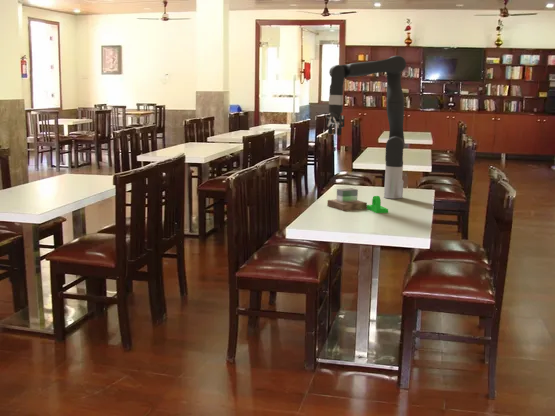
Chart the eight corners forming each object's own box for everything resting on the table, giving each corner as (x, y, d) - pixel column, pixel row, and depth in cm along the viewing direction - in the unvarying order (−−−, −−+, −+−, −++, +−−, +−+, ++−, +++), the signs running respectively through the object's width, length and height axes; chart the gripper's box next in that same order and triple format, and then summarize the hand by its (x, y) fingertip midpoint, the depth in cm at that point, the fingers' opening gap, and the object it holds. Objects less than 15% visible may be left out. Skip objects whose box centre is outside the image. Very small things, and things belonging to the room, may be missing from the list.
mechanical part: (387, 213, 302) (388, 196, 301) (376, 213, 301) (377, 196, 299) (377, 208, 314) (378, 192, 312) (366, 208, 312) (367, 192, 311)
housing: (336, 201, 313) (337, 189, 312) (351, 199, 318) (351, 188, 317) (342, 202, 309) (342, 190, 308) (357, 201, 313) (357, 189, 312)
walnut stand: (350, 204, 323) (350, 198, 322) (366, 208, 311) (366, 202, 310) (327, 205, 316) (327, 200, 316) (343, 210, 304) (343, 204, 304)
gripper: (322, 103, 336) (321, 133, 339) (337, 104, 324) (336, 135, 327) (334, 103, 340) (333, 133, 343) (349, 104, 328) (348, 135, 331)
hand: (334, 134), depth 335 cm, fingers open, 8 cm apart
